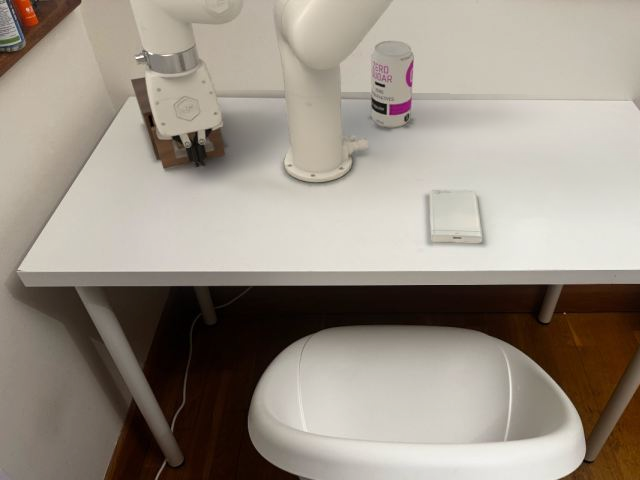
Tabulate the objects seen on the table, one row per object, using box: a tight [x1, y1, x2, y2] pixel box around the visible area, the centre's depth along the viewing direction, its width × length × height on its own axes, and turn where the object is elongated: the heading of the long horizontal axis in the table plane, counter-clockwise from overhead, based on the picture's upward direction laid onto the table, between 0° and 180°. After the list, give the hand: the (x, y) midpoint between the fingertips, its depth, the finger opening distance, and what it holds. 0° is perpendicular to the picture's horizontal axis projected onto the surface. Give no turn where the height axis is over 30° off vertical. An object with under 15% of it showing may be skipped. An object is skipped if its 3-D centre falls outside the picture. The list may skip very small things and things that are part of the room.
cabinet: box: [130, 76, 161, 161], centre depth 110 cm, size 15×13×10 cm
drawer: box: [150, 115, 227, 170], centre depth 104 cm, size 18×11×8 cm, turn 25°
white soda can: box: [370, 40, 415, 129], centre depth 114 cm, size 8×8×15 cm
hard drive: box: [428, 189, 484, 244], centre depth 94 cm, size 2×8×12 cm
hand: (198, 162), depth 98 cm, fingers closed
